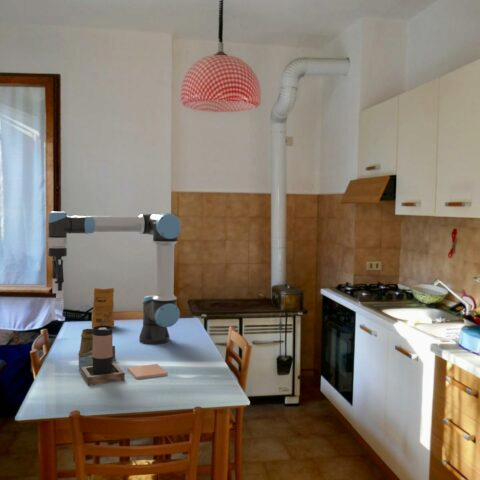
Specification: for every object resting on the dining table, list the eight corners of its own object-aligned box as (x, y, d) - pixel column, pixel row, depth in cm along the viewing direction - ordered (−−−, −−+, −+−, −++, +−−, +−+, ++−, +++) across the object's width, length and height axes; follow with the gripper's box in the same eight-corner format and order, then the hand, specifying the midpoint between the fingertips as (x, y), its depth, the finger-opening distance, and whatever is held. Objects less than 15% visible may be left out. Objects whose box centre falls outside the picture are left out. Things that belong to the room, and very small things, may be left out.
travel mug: (94, 374, 214) (94, 325, 212) (113, 374, 214) (114, 325, 213) (90, 380, 206) (90, 329, 205) (110, 380, 207) (111, 329, 206)
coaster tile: (157, 366, 226) (157, 363, 226) (167, 375, 215) (167, 372, 215) (127, 369, 220) (127, 367, 220) (136, 379, 209) (136, 376, 209)
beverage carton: (77, 370, 219) (77, 355, 218) (99, 358, 237) (99, 343, 237) (95, 372, 217) (95, 356, 217) (116, 359, 236) (116, 344, 235)
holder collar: (115, 370, 220) (115, 363, 219) (124, 380, 207) (124, 372, 207) (80, 374, 213) (80, 367, 213) (88, 385, 201) (88, 377, 201)
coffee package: (92, 325, 300) (92, 286, 298) (115, 325, 301) (115, 286, 300) (89, 329, 290) (90, 289, 289) (113, 329, 291) (113, 289, 290)
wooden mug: (107, 357, 238) (107, 317, 237) (76, 357, 237) (76, 317, 236) (110, 351, 247) (111, 313, 246) (81, 351, 246) (81, 313, 245)
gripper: (45, 245, 241) (45, 291, 242) (51, 249, 218) (51, 300, 219) (62, 244, 244) (62, 290, 245) (70, 249, 221) (70, 299, 223)
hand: (57, 295), depth 232 cm, fingers open, 13 cm apart
